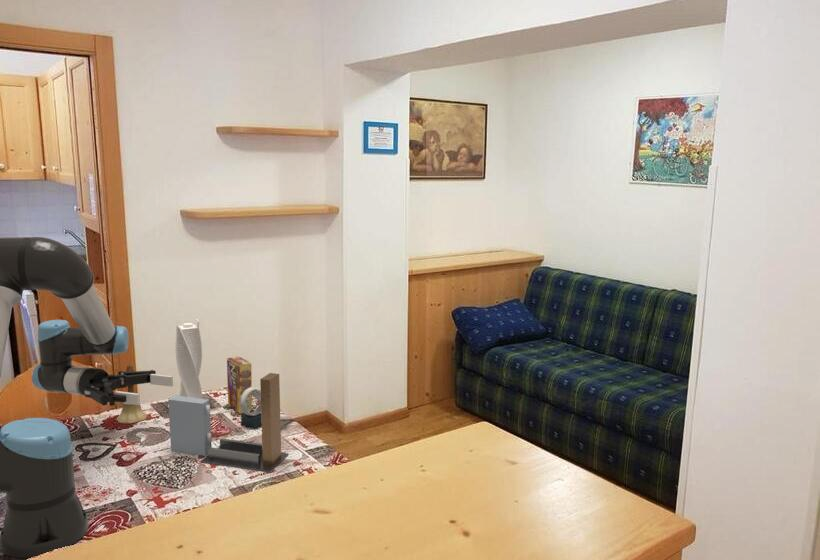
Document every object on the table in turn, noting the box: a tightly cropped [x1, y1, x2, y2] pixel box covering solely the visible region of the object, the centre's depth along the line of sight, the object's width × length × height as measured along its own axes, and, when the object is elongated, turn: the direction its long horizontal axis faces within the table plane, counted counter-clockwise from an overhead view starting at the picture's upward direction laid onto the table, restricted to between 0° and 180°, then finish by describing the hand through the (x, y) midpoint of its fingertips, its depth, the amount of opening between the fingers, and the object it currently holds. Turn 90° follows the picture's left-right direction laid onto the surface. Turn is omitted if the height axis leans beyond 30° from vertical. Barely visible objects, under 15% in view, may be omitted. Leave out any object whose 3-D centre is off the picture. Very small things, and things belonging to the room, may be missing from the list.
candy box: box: [226, 356, 253, 415], centre depth 194 cm, size 9×4×15 cm, turn 39°
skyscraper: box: [175, 318, 204, 399], centre depth 193 cm, size 8×8×28 cm
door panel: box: [167, 395, 213, 457], centre depth 165 cm, size 3×11×14 cm, turn 75°
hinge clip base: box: [200, 372, 289, 473], centre depth 160 cm, size 10×19×22 cm, turn 75°
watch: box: [240, 386, 262, 430], centre depth 183 cm, size 6×8×11 cm
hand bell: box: [116, 364, 148, 424], centre depth 186 cm, size 8×8×16 cm
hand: (156, 390), depth 167 cm, fingers open, 13 cm apart
